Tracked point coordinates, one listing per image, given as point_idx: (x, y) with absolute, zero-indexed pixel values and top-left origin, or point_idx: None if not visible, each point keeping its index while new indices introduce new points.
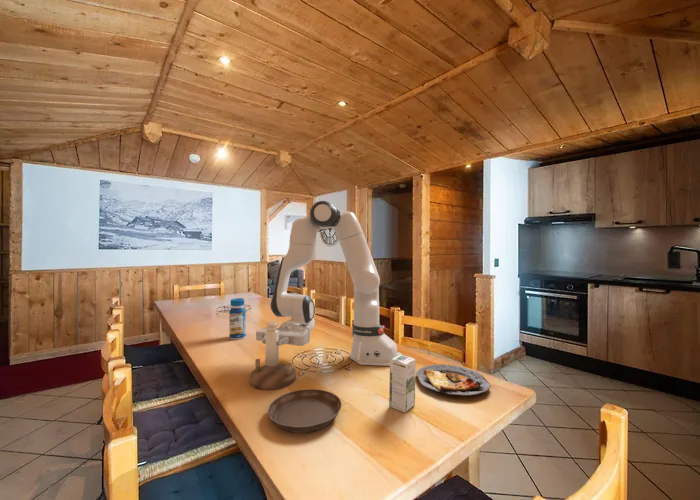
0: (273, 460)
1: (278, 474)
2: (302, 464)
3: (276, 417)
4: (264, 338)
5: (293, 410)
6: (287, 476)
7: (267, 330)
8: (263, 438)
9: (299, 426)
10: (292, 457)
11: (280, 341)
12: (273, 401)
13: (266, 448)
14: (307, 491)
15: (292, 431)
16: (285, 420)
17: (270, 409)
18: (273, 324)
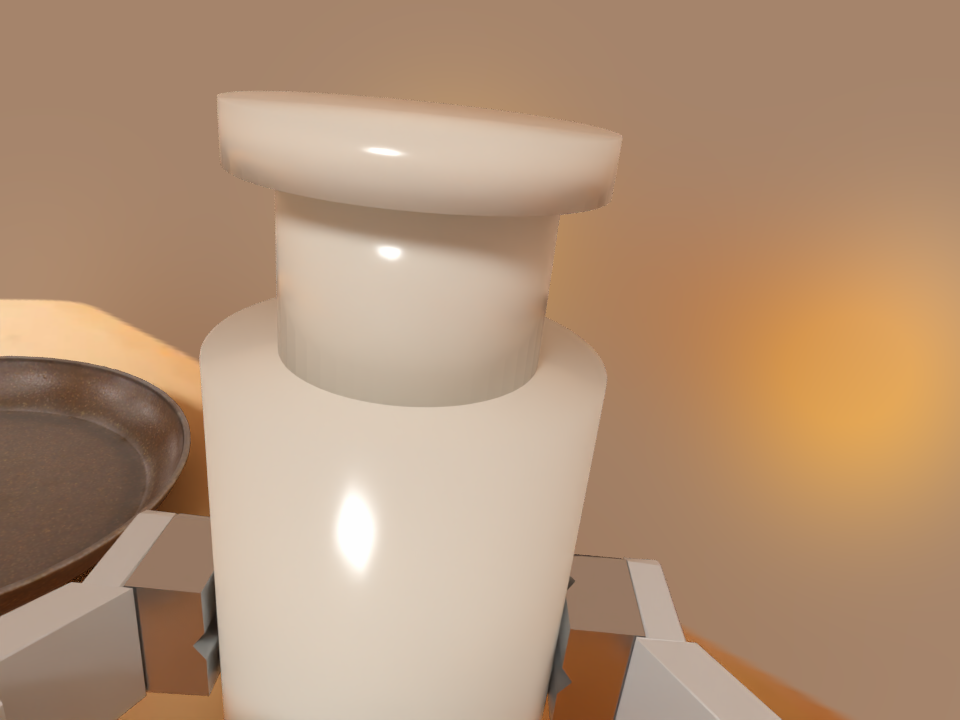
0: (125, 347)
1: (102, 324)
2: (18, 340)
3: (143, 474)
4: (622, 575)
5: (27, 526)
6: (73, 321)
7: (551, 348)
8: (184, 397)
9: (5, 356)
10: (54, 353)
11: (142, 522)
12: (171, 478)
13: (160, 371)
14: (15, 302)
15: (46, 407)
16: (85, 459)
17: (180, 448)
18: (334, 95)
